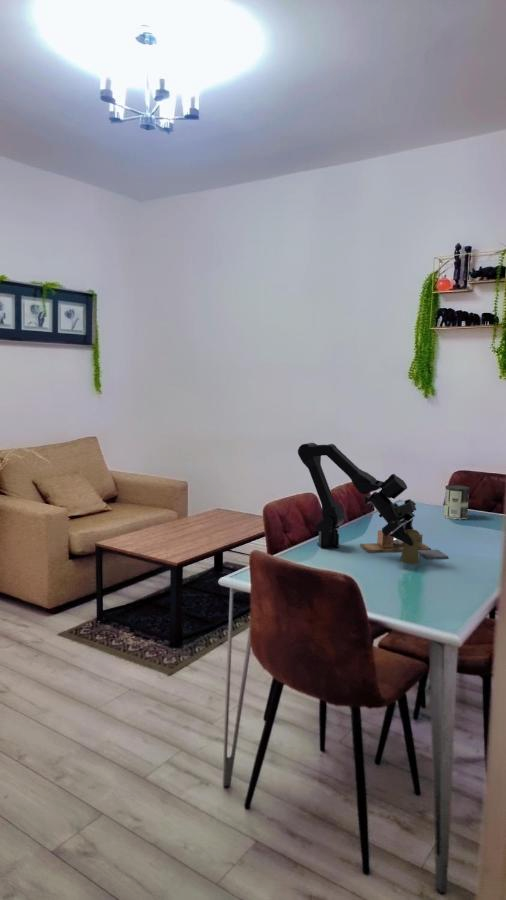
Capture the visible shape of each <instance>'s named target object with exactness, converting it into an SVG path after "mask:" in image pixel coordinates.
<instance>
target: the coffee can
mask: <svg viewBox="0 0 506 900" xmlns="http://www.w3.org/2000/svg"><path fill="white" fill-rule="evenodd" d="M444 487H445V494H444V509H443V510H444V511H443V513H444V514H443V517H444V518H445V517H446V519H448V518H450V519H449V520H454V519H459V520H458V521H462V520H461V519H465V520H467V519H468V514H469V513H468V512H469V511H468V510H469V500H470V499H469V496H470V487H468V486H465V485H460V484H459V485H458V484H448V485H445V486H444Z"/></svg>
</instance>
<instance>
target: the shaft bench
mask: <svg viewBox="0 0 506 900" xmlns="http://www.w3.org/2000/svg"><path fill="white" fill-rule="evenodd" d="M423 535H424V534H423V533H420V532H419V539H418V541H417V543H418V550H432V548H431V547H430V546H428V545H426V544H425V543H424V542H423ZM403 546H404V545H393V547H388V548H382V547H381V546H380V545H378V544H377V542H375V543H360V544H359V547H360V548H361V547H362V548H361V549H363V550H364V551H365V552H366V553H369V554H371V553H373V554H374V553H377V554H378V553H402V551H403Z"/></svg>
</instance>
